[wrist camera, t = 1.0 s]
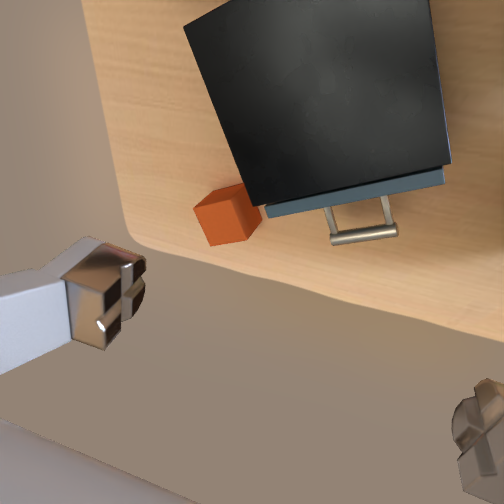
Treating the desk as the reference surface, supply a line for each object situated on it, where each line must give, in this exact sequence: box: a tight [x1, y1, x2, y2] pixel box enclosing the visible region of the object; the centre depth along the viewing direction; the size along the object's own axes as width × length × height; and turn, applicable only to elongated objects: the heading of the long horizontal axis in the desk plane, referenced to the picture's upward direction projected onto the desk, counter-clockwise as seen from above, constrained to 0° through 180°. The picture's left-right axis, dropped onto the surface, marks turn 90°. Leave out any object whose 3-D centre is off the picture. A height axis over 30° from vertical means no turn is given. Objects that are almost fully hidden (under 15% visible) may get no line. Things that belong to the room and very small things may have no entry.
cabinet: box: [183, 0, 452, 207], centre depth 30 cm, size 15×16×10 cm
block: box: [193, 183, 262, 246], centre depth 43 cm, size 5×5×5 cm
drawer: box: [264, 166, 445, 246], centre depth 31 cm, size 18×14×8 cm
